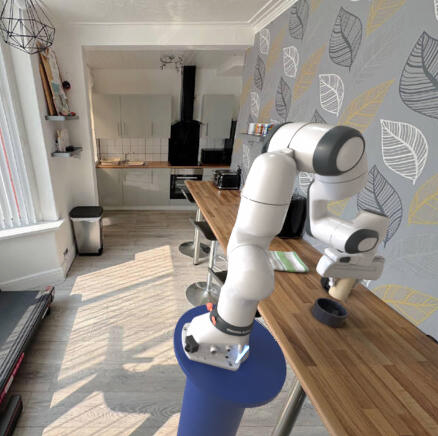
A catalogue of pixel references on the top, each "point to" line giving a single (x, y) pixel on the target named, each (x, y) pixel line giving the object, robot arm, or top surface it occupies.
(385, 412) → the top surface
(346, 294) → the candle
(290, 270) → the dish towel
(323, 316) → the holder
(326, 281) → the end cap
